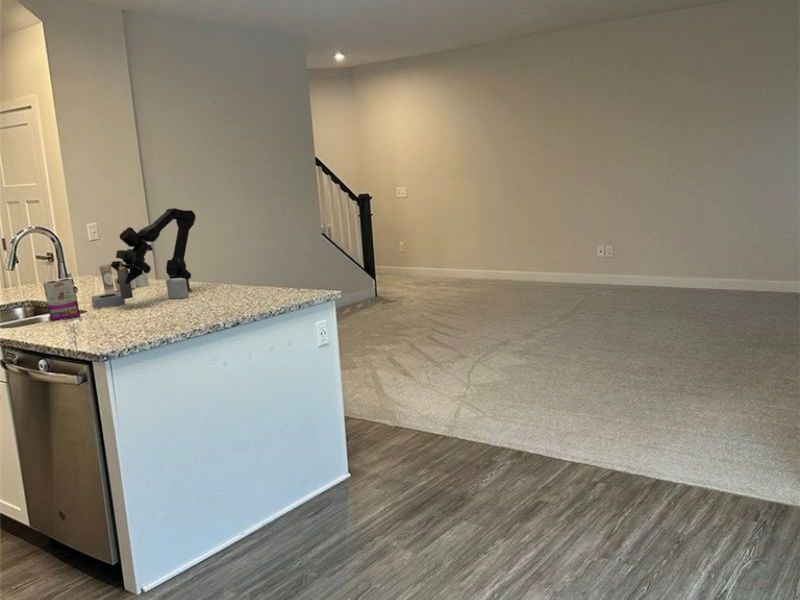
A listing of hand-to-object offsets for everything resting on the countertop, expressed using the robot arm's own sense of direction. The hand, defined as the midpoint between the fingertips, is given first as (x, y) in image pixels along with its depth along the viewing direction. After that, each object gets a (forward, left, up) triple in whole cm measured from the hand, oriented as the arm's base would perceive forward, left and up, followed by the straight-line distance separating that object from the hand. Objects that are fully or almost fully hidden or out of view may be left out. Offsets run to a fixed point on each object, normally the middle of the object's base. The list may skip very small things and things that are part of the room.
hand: (122, 283), depth 294 cm
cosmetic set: (+28, -47, -11) cm, 56 cm away
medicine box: (-15, -17, -11) cm, 26 cm away
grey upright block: (0, -1, -7) cm, 7 cm away
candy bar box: (+20, +14, -11) cm, 26 cm away
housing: (+15, -10, -11) cm, 21 cm away
